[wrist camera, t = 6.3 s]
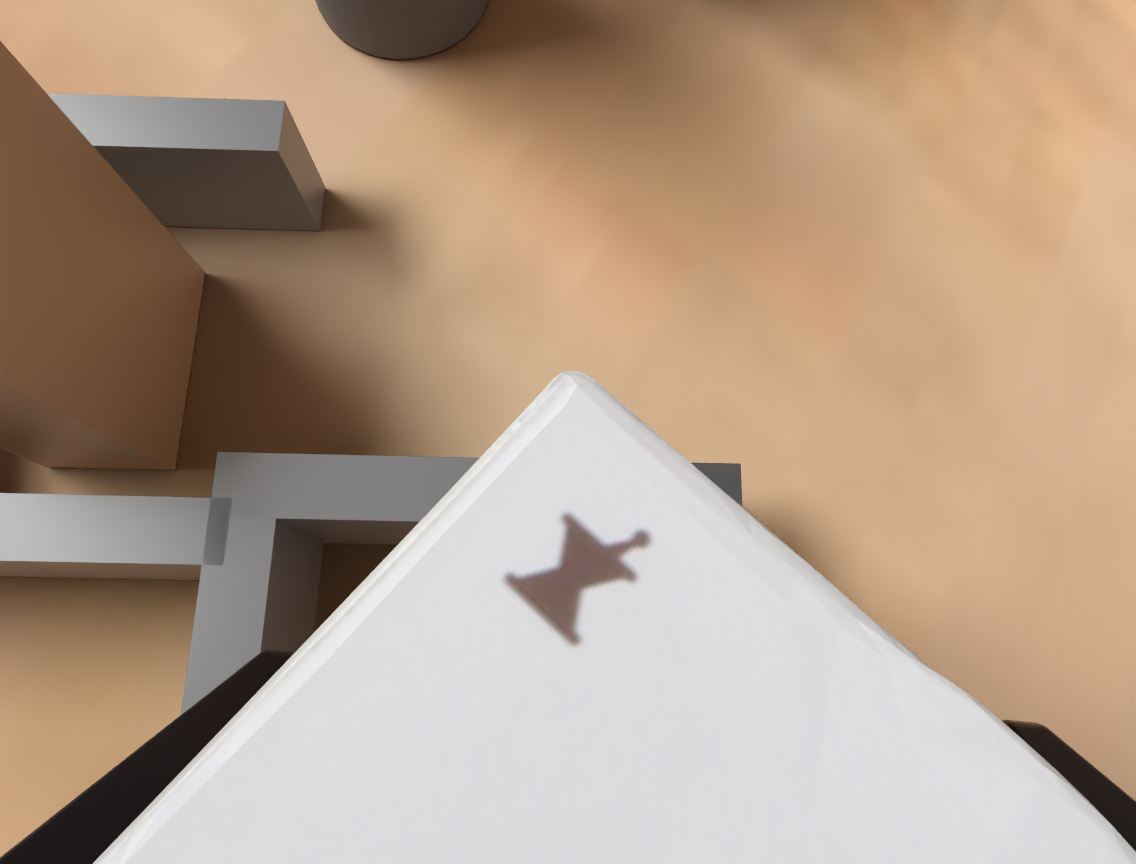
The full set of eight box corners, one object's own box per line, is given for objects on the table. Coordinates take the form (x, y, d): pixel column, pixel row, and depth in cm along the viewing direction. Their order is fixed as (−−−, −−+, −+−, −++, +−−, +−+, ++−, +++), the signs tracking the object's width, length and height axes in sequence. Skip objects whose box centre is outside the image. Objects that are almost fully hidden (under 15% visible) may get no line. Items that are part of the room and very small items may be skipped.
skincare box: (399, 742, 15) (-95, 981, 4) (557, 572, 16) (575, 318, 4) (646, 999, 14) (1101, 2560, 2) (800, 800, 15) (1652, 1245, 3)
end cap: (720, 944, 20) (762, 1014, 16) (220, 939, 19) (140, 1008, 16) (707, 497, 23) (740, 464, 19) (274, 487, 22) (217, 452, 19)
